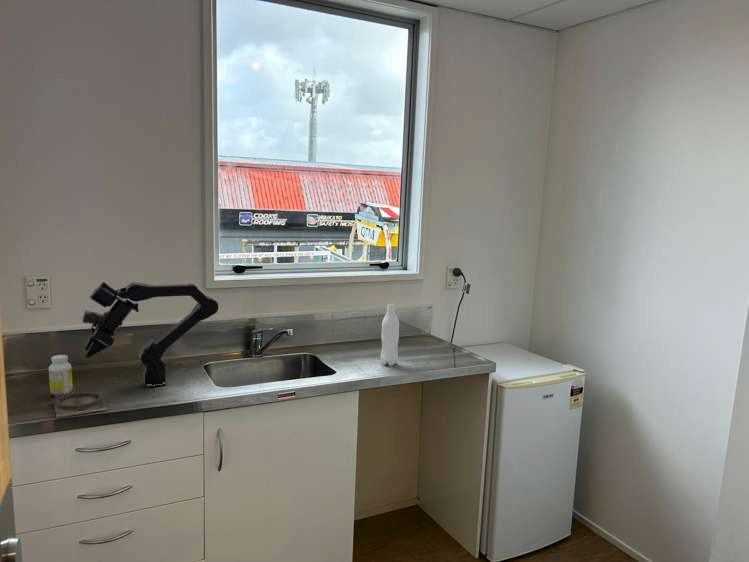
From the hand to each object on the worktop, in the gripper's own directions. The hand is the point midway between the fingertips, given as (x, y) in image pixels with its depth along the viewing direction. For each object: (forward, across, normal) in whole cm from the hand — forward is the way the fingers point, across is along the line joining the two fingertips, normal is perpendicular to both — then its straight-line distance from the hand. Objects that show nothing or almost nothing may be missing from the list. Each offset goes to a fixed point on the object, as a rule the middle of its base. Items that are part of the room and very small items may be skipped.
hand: (86, 353), depth 194 cm
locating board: (+12, +14, +6) cm, 19 cm away
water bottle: (-57, +8, +95) cm, 111 cm away
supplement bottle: (+16, 0, +2) cm, 16 cm away
